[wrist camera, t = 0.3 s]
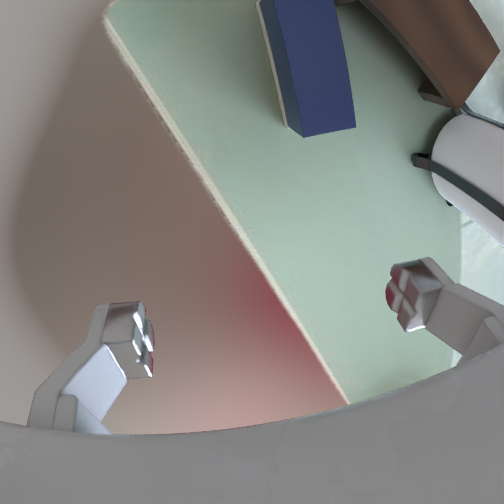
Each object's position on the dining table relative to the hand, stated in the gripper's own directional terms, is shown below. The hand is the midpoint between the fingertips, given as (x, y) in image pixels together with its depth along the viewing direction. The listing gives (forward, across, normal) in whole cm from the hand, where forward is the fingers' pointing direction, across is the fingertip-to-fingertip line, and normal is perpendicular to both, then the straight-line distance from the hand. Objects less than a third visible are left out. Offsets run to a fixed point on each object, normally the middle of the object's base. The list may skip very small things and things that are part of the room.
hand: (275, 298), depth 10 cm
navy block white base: (+23, -7, -7) cm, 25 cm away
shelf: (+23, -20, -13) cm, 33 cm away
